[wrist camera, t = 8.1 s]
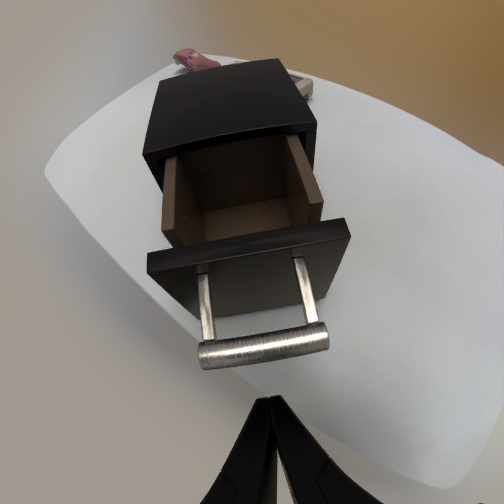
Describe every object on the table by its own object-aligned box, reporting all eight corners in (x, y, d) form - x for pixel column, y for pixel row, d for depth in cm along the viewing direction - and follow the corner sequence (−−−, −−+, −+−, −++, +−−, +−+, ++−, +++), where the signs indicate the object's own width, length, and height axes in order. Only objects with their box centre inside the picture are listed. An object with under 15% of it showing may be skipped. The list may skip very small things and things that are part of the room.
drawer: (338, 356, 19) (381, 332, 11) (204, 379, 20) (148, 371, 11) (296, 196, 27) (299, 114, 18) (192, 215, 27) (157, 140, 18)
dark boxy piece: (307, 219, 26) (317, 121, 16) (189, 241, 27) (141, 154, 16) (282, 143, 32) (278, 58, 21) (188, 160, 32) (159, 80, 22)
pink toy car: (185, 74, 48) (164, 55, 42) (199, 59, 47) (180, 40, 41) (209, 85, 44) (187, 63, 38) (225, 68, 43) (205, 45, 37)
